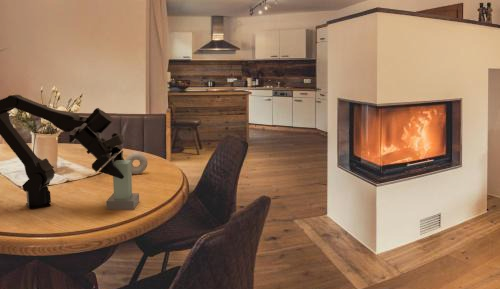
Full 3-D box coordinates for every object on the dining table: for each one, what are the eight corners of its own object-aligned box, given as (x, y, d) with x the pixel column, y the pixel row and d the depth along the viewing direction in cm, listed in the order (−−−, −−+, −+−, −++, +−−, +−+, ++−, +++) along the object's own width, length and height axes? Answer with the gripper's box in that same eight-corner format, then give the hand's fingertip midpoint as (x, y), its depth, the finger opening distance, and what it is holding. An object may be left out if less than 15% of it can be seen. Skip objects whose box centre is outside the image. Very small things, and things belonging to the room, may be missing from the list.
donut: (147, 172, 188) (146, 151, 187) (148, 174, 185) (147, 152, 183) (124, 173, 185) (124, 152, 183) (125, 175, 182) (124, 153, 180)
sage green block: (114, 199, 139) (112, 163, 137) (117, 194, 144) (116, 160, 142) (128, 199, 140) (127, 163, 137) (132, 194, 144) (131, 160, 142)
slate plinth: (106, 209, 138) (106, 201, 137) (113, 201, 146) (113, 193, 146) (133, 209, 138) (133, 201, 138) (139, 201, 147) (138, 193, 147)
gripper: (100, 130, 128) (137, 164, 131) (115, 122, 146) (147, 153, 149) (76, 154, 129) (113, 188, 132) (94, 144, 147) (126, 173, 150)
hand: (126, 174), depth 141 cm, fingers open, 9 cm apart
